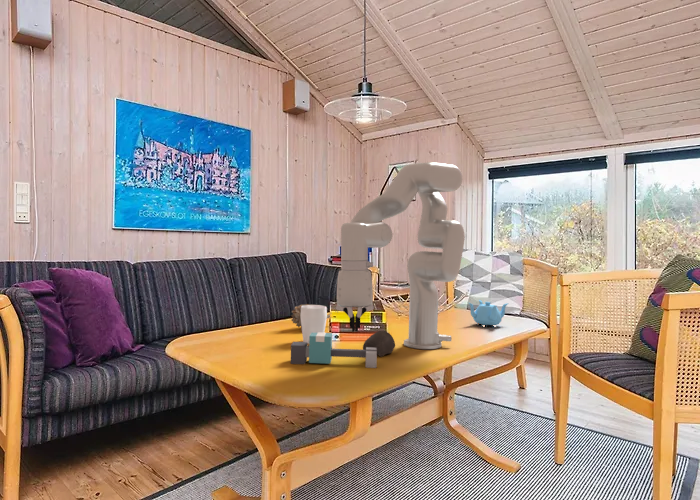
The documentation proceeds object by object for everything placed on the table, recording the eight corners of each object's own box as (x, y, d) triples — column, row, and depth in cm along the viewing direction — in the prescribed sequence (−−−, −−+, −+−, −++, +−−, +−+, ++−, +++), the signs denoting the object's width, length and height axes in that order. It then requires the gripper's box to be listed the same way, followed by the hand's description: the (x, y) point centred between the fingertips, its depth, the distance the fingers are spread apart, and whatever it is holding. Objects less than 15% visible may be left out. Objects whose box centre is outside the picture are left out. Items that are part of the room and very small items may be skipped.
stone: (362, 367, 144) (380, 349, 138) (354, 343, 149) (371, 325, 143) (387, 367, 149) (405, 350, 144) (378, 345, 154) (395, 327, 149)
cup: (322, 345, 154) (323, 309, 154) (296, 343, 156) (297, 307, 156) (329, 339, 163) (330, 305, 163) (304, 338, 165) (305, 304, 165)
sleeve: (331, 358, 136) (332, 332, 136) (330, 363, 131) (330, 336, 131) (311, 358, 136) (311, 332, 136) (308, 362, 131) (309, 335, 131)
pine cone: (301, 333, 173) (301, 306, 172) (285, 329, 179) (285, 303, 179) (343, 326, 188) (344, 302, 188) (327, 323, 195) (328, 299, 195)
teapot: (466, 325, 197) (466, 301, 197) (479, 321, 207) (480, 298, 207) (495, 330, 189) (496, 305, 189) (508, 325, 199) (508, 301, 199)
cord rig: (376, 361, 136) (376, 343, 136) (376, 367, 130) (376, 349, 129) (293, 358, 137) (294, 340, 137) (289, 364, 130) (290, 346, 130)
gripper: (380, 265, 136) (381, 327, 137) (329, 265, 137) (329, 327, 138) (381, 267, 129) (381, 333, 130) (327, 267, 129) (327, 333, 130)
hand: (355, 330), depth 134 cm, fingers closed
